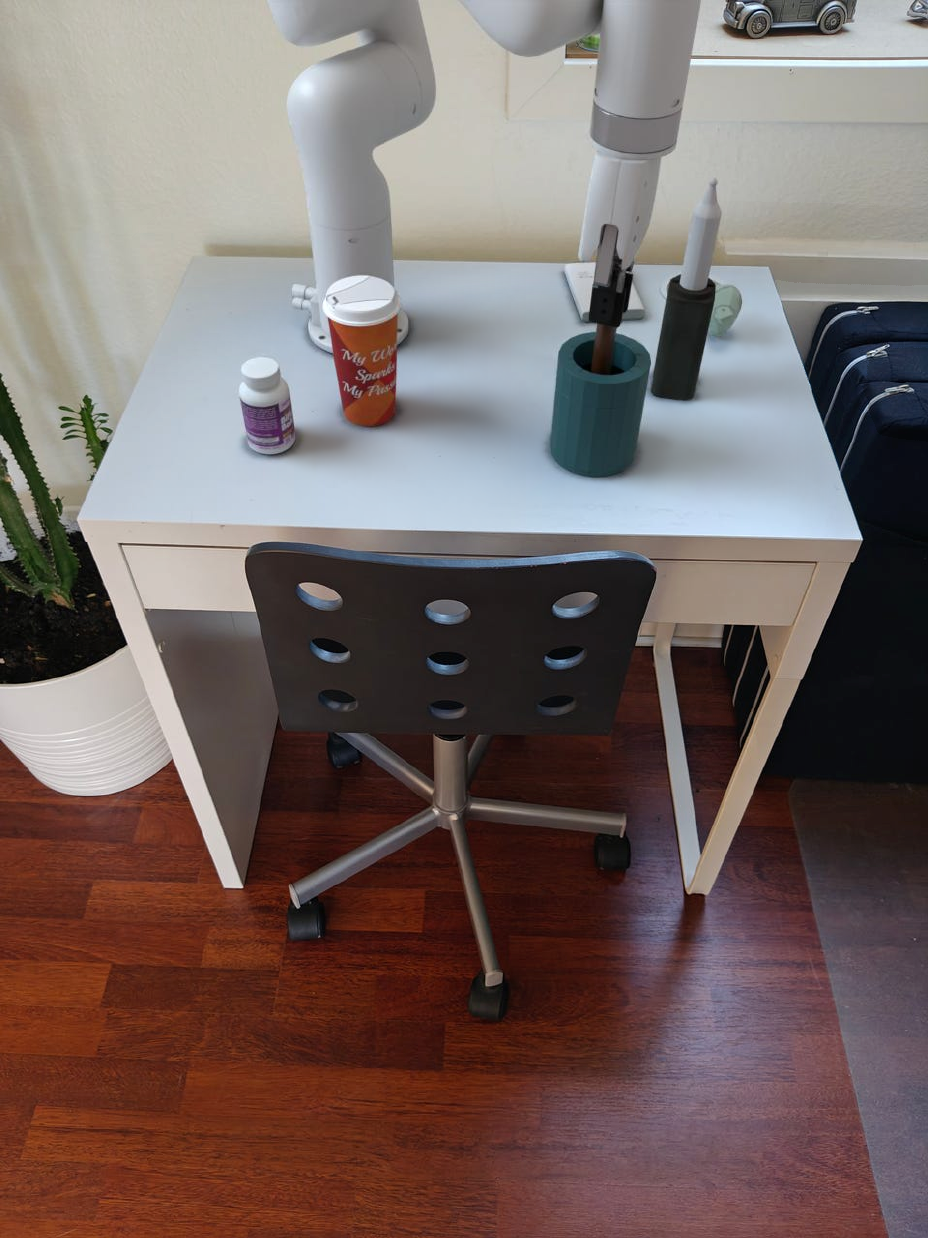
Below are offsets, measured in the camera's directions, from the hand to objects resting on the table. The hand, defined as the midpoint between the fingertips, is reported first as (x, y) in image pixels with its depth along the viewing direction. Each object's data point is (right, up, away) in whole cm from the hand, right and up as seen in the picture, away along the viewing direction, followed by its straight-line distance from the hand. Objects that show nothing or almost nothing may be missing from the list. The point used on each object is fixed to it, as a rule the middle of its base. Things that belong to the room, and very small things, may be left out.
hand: (608, 314), depth 99 cm
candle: (+11, -2, +21) cm, 23 cm away
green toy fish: (+18, +6, +28) cm, 34 cm away
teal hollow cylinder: (0, -11, +12) cm, 17 cm away
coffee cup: (-25, -6, +17) cm, 31 cm away
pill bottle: (-36, -10, +13) cm, 39 cm away
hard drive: (+4, +13, +34) cm, 37 cm away
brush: (0, -9, +10) cm, 14 cm away
